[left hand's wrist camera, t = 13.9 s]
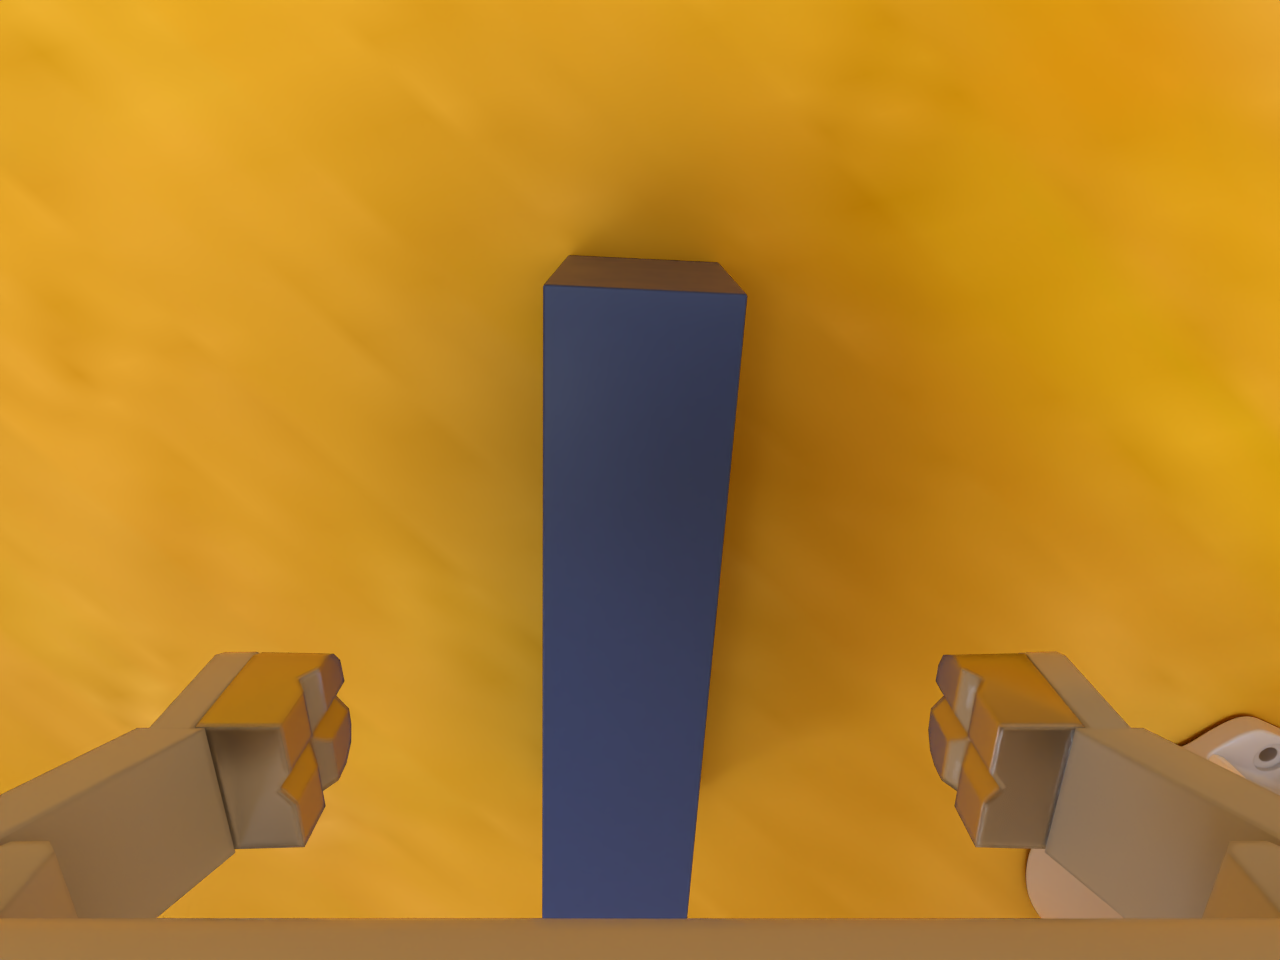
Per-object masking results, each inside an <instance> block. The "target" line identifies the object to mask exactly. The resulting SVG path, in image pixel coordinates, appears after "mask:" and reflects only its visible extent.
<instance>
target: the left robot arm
mask: <svg viewBox="0 0 1280 960" xmlns="http://www.w3.org/2000/svg"><path fill="white" fill-rule="evenodd" d="M343 682H344V677H343V672H342V667H341V662H340V659H338V658H337V657H336V656H335V655H334V654H323V653H275V652H262V653H258V652H224V653H221V654H217V655H215V656H214V657H213V658H212V659H211V660H210V661H209V663H208V664H207V665H206V666H205V667H204V668H203V669H202V670H201V671H200V673H199V674H198V675H197V676H196V677H195V678H194V679H193V680H192V681H191V682H190V684H189V685H188V686H187V687H186V688H185V689H184V690H183V691H182V692H181V694H180V695H179V696H178V697H177V698H176V699H175V700H174V701H173V702H172V703H171V705H170V706H169V707H168V708H167V709H166V710H165V711H164V712H163V713H162V715H161V716H160V717H159V718H158V719H157V720H156V721H155V722H154V723H153V724H152V726H151V727H150V728H136V729H134V730H132V731H130V732H128V733H126V734H124V735H122V736H120V737H118V738H116V739H114V740H112V741H110V742H108V743H105V744H103V745H101V746H99V747H97V748H95V749H93V750H91V751H89V752H87V753H85V754H83V755H81V756H79V757H77V758H75V759H73V760H71V761H69V762H67V763H65V764H63V765H61V766H58V767H56V768H54V769H52V770H50V771H48V772H46V773H44V774H42V775H40V776H38V777H36V778H34V779H32V780H30V781H28V782H26V783H24V784H22V785H20V786H18V787H16V788H14V789H11V790H9V791H7V792H5V793H3V794H1V795H0V960H1280V728H1278V727H1276V726H1273V725H1271V724H1269V723H1267V722H1265V721H1262V720H1260V719H1258V718H1255V717H1250V716H1243V717H1237V718H1234V719H1231V720H1229V721H1227V722H1225V723H1222V724H1221V725H1219V726H1217V727H1215V728H1213V729H1211V730H1210V731H1208V732H1206V733H1205V734H1203V735H1201V736H1200V737H1198V738H1197V739H1195V740H1193V741H1192V742H1190V743H1189V744H1186V745H1184V746H1178V745H1176V744H1174V743H1172V742H1170V741H1168V740H1166V739H1164V738H1162V737H1160V736H1158V735H1156V734H1154V733H1152V732H1150V731H1148V730H1146V729H1144V728H1130V727H1129V726H1128V724H1127V723H1126V722H1125V721H1124V720H1123V719H1122V718H1121V717H1120V716H1119V715H1118V713H1117V712H1116V711H1115V710H1114V709H1113V708H1112V707H1111V706H1110V705H1109V703H1108V702H1107V701H1106V700H1105V699H1104V698H1103V697H1102V696H1101V695H1100V694H1099V692H1098V691H1097V690H1096V689H1095V688H1094V687H1093V686H1092V685H1091V684H1090V682H1089V681H1088V680H1087V679H1086V678H1085V677H1084V676H1083V675H1082V674H1081V673H1080V671H1079V670H1078V669H1077V668H1076V667H1075V666H1074V665H1073V664H1072V663H1071V661H1070V660H1069V659H1068V658H1067V657H1066V656H1065V655H1063V654H1060V653H1058V652H1027V653H1013V654H960V655H943V657H942V659H941V661H940V663H939V665H938V670H937V676H936V682H937V684H938V686H939V688H940V689H941V691H942V693H943V695H944V696H943V697H942V698H941V699H940V700H939V701H938V702H937V703H936V704H935V705H934V706H933V707H932V708H931V713H930V721H929V729H928V731H929V742H930V751H931V755H932V758H933V762H934V765H935V767H936V770H937V772H938V774H939V776H940V778H941V780H942V781H943V782H945V783H946V784H948V785H949V786H951V787H952V788H954V789H955V790H956V791H957V795H956V801H955V808H956V810H957V812H958V814H959V816H960V818H961V820H962V821H963V823H964V825H965V827H966V829H967V831H968V833H969V835H970V837H971V839H972V841H973V843H974V845H975V847H992V848H1028V849H1031V850H1030V853H1029V857H1028V861H1027V866H1026V886H1027V891H1028V895H1029V898H1030V900H1031V903H1032V905H1033V907H1034V909H1035V910H1036V912H1037V913H1038V915H1039V916H1040V917H1041V918H798V919H626V918H157V917H158V916H159V915H161V914H162V913H163V912H164V911H165V910H167V909H168V908H169V907H170V906H171V905H173V904H174V903H175V902H176V901H177V900H179V899H180V898H181V897H182V896H183V895H185V894H186V893H187V892H188V891H189V890H191V889H192V888H193V887H194V886H196V885H197V884H198V883H199V882H200V881H202V880H203V879H204V878H205V877H206V876H208V875H209V874H210V873H211V872H212V871H214V870H215V869H216V868H217V867H218V866H220V865H221V864H222V863H223V862H225V861H226V860H227V859H228V858H229V857H231V856H232V855H233V854H234V853H235V849H251V848H286V847H305V845H306V843H307V841H308V839H309V837H310V835H311V833H312V831H313V829H314V827H315V825H316V824H317V822H318V820H319V818H320V816H321V814H322V812H323V810H324V808H325V801H324V795H323V791H324V790H325V789H326V788H328V787H329V786H331V785H332V784H334V783H335V782H337V781H338V780H339V778H340V776H341V774H342V772H343V769H344V767H345V765H346V763H347V758H348V753H349V749H350V744H351V719H350V712H349V708H348V707H347V706H346V705H345V704H344V703H343V702H342V701H341V700H340V699H339V698H338V697H337V696H336V695H337V693H338V691H339V689H340V688H341V686H342V684H343Z"/></svg>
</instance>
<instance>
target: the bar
mask: <svg viewBox="0 0 1280 960" xmlns="http://www.w3.org/2000/svg"><path fill="white" fill-rule="evenodd" d="M746 304H747V294H746V293H745V292H744V291H743V290H742V289H741V288H740V287H739V285H738V284H737V283H736V282H735V281H734V280H733V279H732V278H731V276H730V275H729V274H728V273H727V272H726V271H725V270H724V269H723V268H722V266H721V265H720V264H719V263H717V262H697V261H676V260H656V259H635V258H615V257H594V256H574V255H569V256H568V257H567V258H566V259H565V260H564V262H563V263H562V264H561V265H560V266H559V268H558V269H557V270H556V271H555V272H554V273H553V275H552V276H551V277H550V278H549V279H548V281H547V282H546V283H545V284H544V286H543V817H542V918H626V919H687V913H688V903H689V892H690V882H691V872H692V862H693V851H694V841H695V831H696V820H697V810H698V800H699V789H700V779H701V769H702V758H703V748H704V738H705V727H706V717H707V707H708V696H709V686H710V676H711V665H712V655H713V645H714V635H715V624H716V614H717V604H718V593H719V583H720V573H721V562H722V552H723V542H724V531H725V521H726V511H727V500H728V490H729V480H730V469H731V459H732V449H733V438H734V428H735V418H736V408H737V397H738V387H739V377H740V366H741V356H742V346H743V335H744V325H745V315H746Z"/></svg>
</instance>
